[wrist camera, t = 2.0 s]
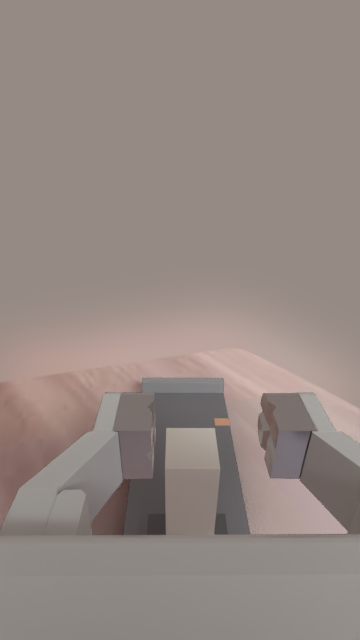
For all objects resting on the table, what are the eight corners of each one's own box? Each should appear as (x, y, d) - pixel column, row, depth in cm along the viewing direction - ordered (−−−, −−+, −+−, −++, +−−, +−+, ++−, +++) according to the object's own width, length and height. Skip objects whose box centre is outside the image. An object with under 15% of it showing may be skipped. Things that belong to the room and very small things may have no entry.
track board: (271, 685, 21) (279, 660, 19) (106, 687, 21) (101, 662, 19) (221, 400, 44) (223, 378, 42) (143, 399, 44) (142, 377, 42)
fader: (233, 598, 23) (251, 485, 18) (143, 599, 23) (135, 485, 17) (223, 524, 27) (236, 416, 22) (148, 524, 27) (143, 416, 22)
